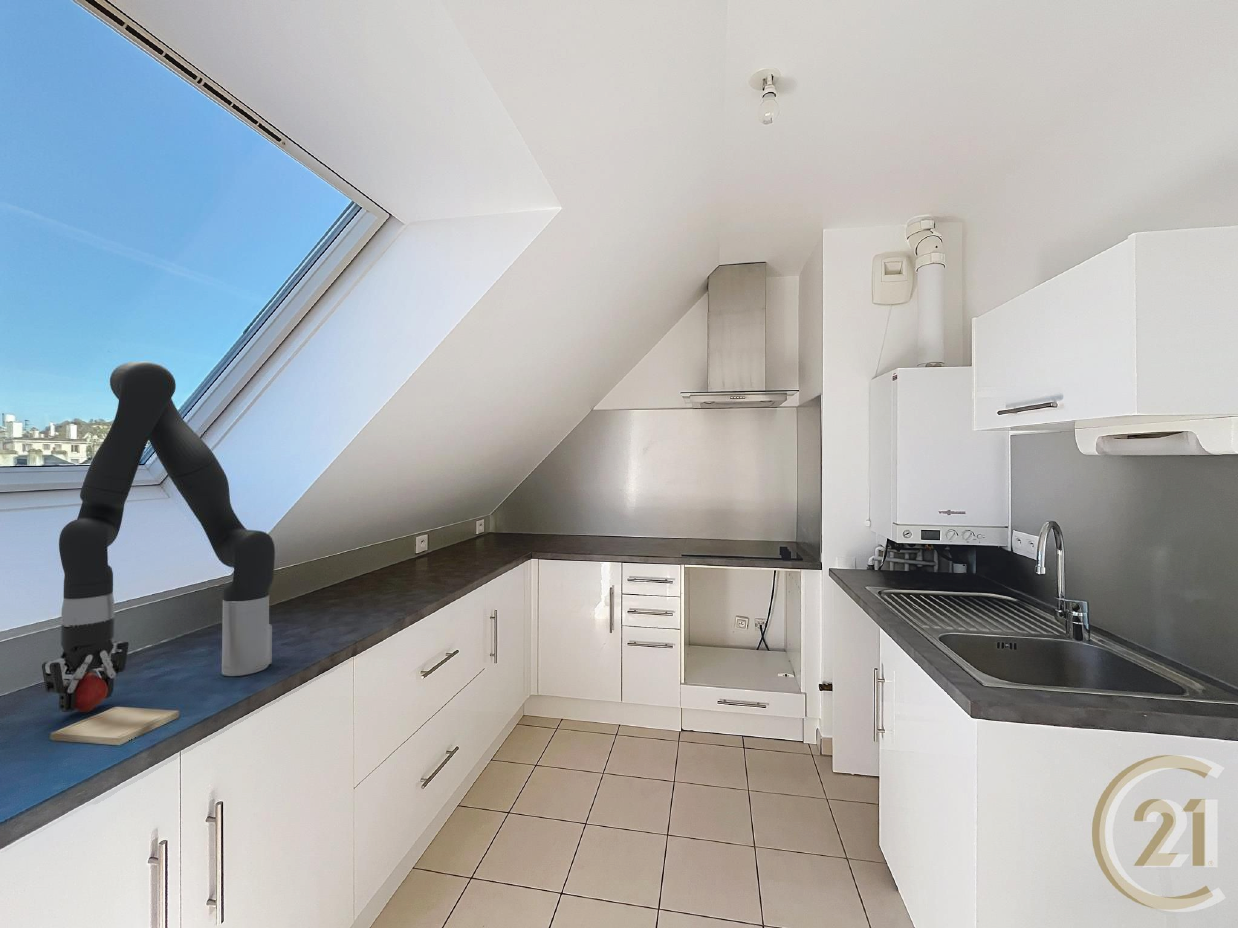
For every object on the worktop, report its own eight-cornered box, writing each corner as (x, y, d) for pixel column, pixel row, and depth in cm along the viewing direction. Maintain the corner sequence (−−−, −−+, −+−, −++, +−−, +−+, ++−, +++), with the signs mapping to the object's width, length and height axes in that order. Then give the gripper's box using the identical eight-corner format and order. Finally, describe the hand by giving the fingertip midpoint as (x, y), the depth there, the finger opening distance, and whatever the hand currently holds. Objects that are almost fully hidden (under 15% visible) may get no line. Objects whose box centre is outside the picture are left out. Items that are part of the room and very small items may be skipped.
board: (116, 712, 107) (116, 706, 107) (179, 716, 105) (179, 710, 105) (50, 739, 96) (50, 732, 96) (119, 745, 94) (119, 737, 94)
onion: (76, 720, 103) (76, 678, 104) (59, 715, 106) (60, 674, 106) (113, 708, 109) (114, 668, 109) (97, 704, 111) (97, 664, 111)
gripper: (110, 608, 115) (109, 689, 115) (28, 627, 101) (26, 719, 101) (141, 609, 114) (140, 690, 114) (62, 629, 100) (61, 722, 100)
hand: (87, 703), depth 107 cm, fingers closed on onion, 6 cm apart
